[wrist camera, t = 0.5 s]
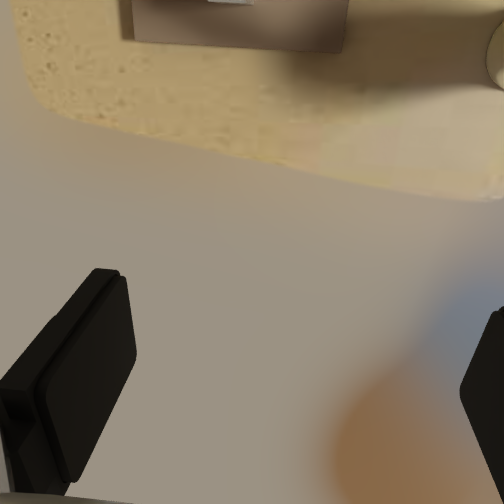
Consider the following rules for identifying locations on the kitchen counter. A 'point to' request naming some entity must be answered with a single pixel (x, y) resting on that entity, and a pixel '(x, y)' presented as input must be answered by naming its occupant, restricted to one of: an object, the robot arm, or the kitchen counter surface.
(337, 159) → the kitchen counter surface
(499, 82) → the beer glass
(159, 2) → the post board
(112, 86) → the kitchen counter surface
